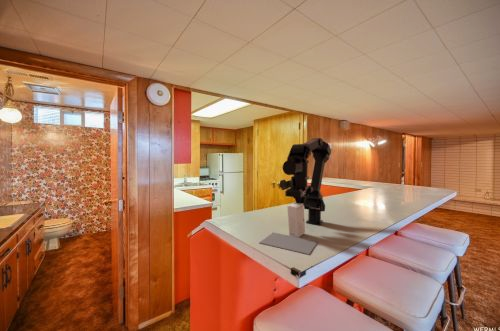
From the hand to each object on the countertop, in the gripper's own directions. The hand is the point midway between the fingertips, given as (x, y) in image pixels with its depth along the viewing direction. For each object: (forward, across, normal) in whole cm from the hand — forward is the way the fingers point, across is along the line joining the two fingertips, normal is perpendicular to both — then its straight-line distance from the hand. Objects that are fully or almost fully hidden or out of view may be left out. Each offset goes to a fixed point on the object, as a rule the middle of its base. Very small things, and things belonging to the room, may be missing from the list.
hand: (299, 211), depth 87 cm
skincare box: (+8, +4, 0) cm, 9 cm away
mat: (+9, +14, 0) cm, 16 cm away
